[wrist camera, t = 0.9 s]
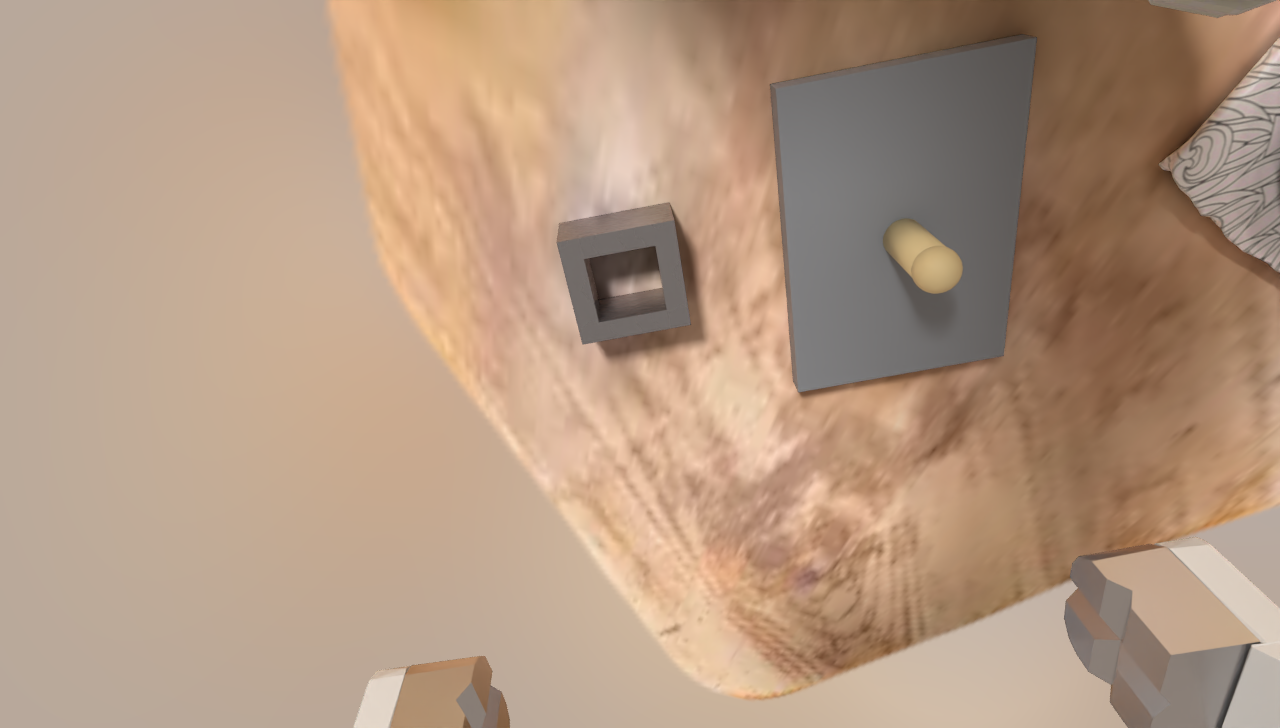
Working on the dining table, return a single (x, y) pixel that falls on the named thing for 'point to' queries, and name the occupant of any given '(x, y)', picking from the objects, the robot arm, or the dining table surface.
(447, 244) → the dining table surface
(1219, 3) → the disposable coffee cup
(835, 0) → the dining table surface
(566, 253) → the hollow square frame
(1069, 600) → the robot arm
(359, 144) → the dining table surface
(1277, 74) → the cookie jar
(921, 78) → the keeper board
